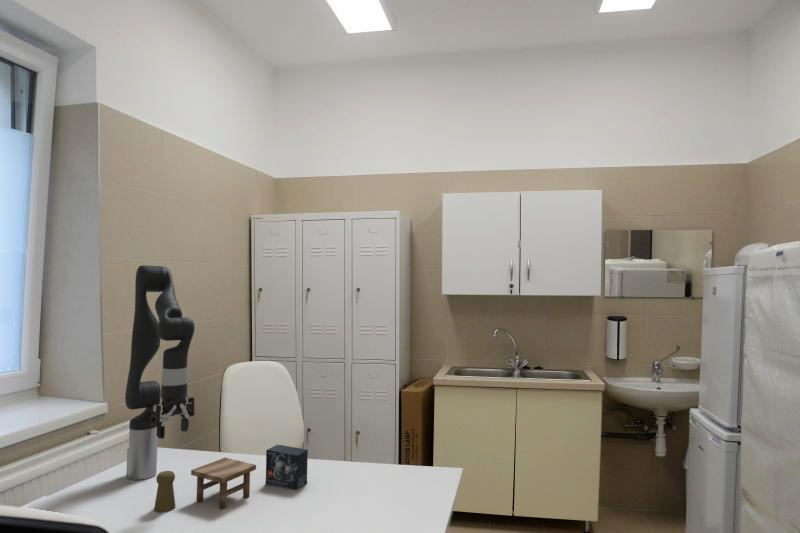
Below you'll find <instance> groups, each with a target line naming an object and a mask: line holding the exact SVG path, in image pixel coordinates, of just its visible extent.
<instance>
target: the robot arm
mask: <svg viewBox="0 0 800 533" xmlns="http://www.w3.org/2000/svg"><path fill="white" fill-rule="evenodd" d="M173 279H174V278H173V275H172V272H171V269H169V267H167V266H163V265H162V266H161V265H146V264H145V265H143V264H142V265H140V266H138V267H137V269H136V273H135V284H134V285H135V291H134V292H135V293H134V294H135V296H134V298H135V300H134V315H133V322H132V323H133V325H132V331H131V343H130V344H131V345H130V363H129V370H128V375H127V381H126V387H125V393H124V400H125V405H126V408H127V409H129V410H132V411H133V410H138V409H139V410H140V409H144V410H143V411H142V412H141V413H140V414H138V415H136V416H134V417H132V418H131V419H130V420H129V423H128V424H129V426H128V427H129V428H128V429H129V431H128V433H129V434H128V436H129V437H128V448H127V449H126V450H127V451H126V476H127V478H128V479H130V480H134V481H135V480H137V481H138V480H139V481H140V480H147V479H149V478H150V479H151V478H153V477H155V476H156V475H157V467H158V466H157V464H158V439H161V440H162V439H165V437H166V436H165V434H166V432H165V430H166V426H165V425H166V423H167V422H168V420H170V418H172V417H174V416H176V415H179V416H180V418H181V420H180V431H181V432H184V433H186V432H188V429H189V424H190V423H189V422H190V421H189V420H190V419H191V417H194V416H195V397H192V396H188V382H189V381H188V380H189V378H188V376H189V373H188V354H189V349H190V346H191V343H192V339H193V337H194V334H195V329H196V328H195V325H196V324H195V323H194V320H193V319H192V318H190V317H185V316H183V312H182V309H181V307H180V304H179V303H178V300H177V297H176V291H175V285H174V280H173ZM147 293H160V294H159V296H158V297H157V298H156V300H155V302H154V303H155V304H154V308H155V312H156V315H157V317H156V316H155V314H154V312H152V309H151V307H150V306H149V303H148V299H147V297H148V296H147ZM157 318H158V319H157ZM161 340H162V341H166V342H167V341H168V342H169V341H170V342H172V341H173V342H174V341H179V343H178V344H177V345H175V346H173V347H172V346H171V347H169V348H167V349H165V350H163V354H162V371H161V376H160V378H161V380H160V381H161V384H160V383H159V382H158V381H157V380H146V381H141V380H142V376H143V374H144V371H145V369H146V368H147V366H148V365H149V363H150V362H151V360H153V358H154V357H155V355H156V354H157V353H158V351H159V348H160V347H161V346H160V345H161Z"/></svg>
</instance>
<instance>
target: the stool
mask: <svg viewBox="0 0 800 533" xmlns="http://www.w3.org/2000/svg"><path fill="white" fill-rule="evenodd" d="M256 469H257V464H254V463H249V462H246V461H242V460H236V459H234V458H233V459H232V458H229V457H222V458H220V459H218V460H215V461H212V462H209V463H207V464H205V465H204V464H203V465H202V466H201V465H200V466H199V467H195V468H193V469H191V470H190V475H191V476H194V477H196V503H198V504H199V503H202V502H204V491H205V490H207V489H209V488H212V487H214V486H216V485H218V484H219V501H218V502H219V503H218V504H219V506H218V508H219V510H225V509H226V508H227V497H229V496H230V495H233V494H235V493H236V492H239V491H241V490H242V498H245V499H248V498H250V494H251V493H250V490H251V489H250V488H251V486H250V485H251V472H253V471H256ZM242 476H243V483H240V484H238V485H235V486H233V487H231V488H229V489H228V482H230V481H232V480H235V479H237V478H239V477H242ZM205 480H209V481H207V482H206V483H204V482H205Z"/></svg>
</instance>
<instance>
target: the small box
mask: <svg viewBox="0 0 800 533" xmlns="http://www.w3.org/2000/svg"><path fill="white" fill-rule="evenodd" d="M308 452H309V450H308V449H306V448H300V447H294V446H290V445H289V446H288V445H283V444H276V445H274V446H272V447H270V448H267V449H266V454H265V464H266V465H265V485H269V486H274V487H278V488H279V487H280V488H284V489H289V490H294V491H298V490H299V489H301V488H303V487H304V486H306V485H307V484H308Z"/></svg>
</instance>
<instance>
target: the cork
mask: <svg viewBox="0 0 800 533" xmlns="http://www.w3.org/2000/svg"><path fill="white" fill-rule="evenodd" d="M156 475H157V476H156V483H157V491H156V496H155V501H154V507H153V508H154V509H153V511H154V512H155V513H163V514H164V513H168V512H172V511H174V510H175V509H176V499H175V490H174V482H175V478H176V476H175V475H176V474H175V473H174V471H172V470H164V471H161V472H158V474H156Z"/></svg>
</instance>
